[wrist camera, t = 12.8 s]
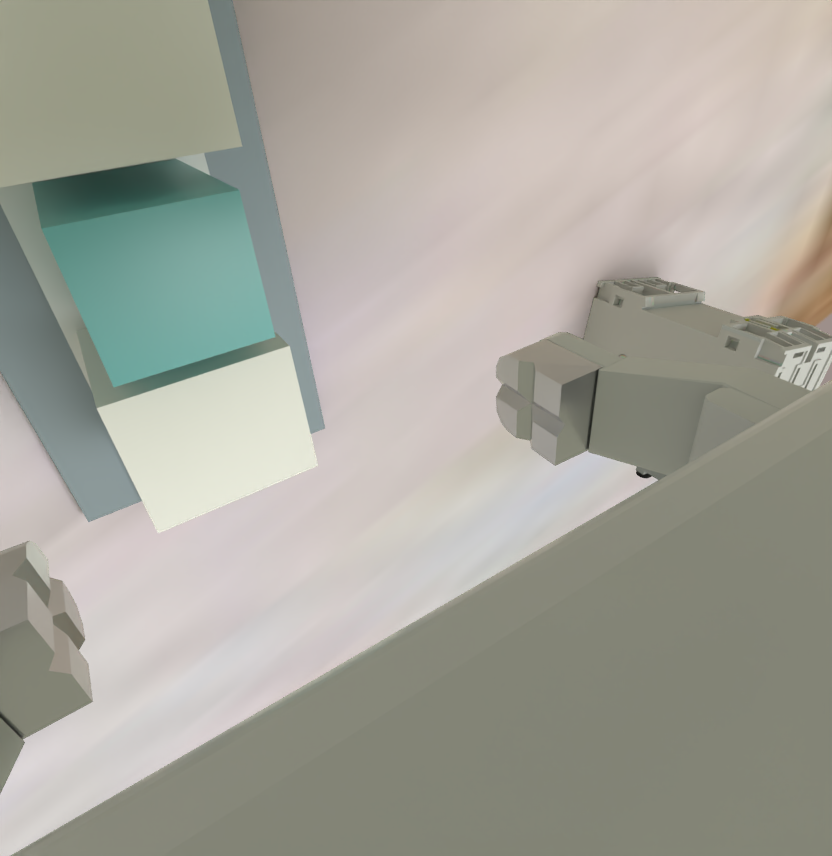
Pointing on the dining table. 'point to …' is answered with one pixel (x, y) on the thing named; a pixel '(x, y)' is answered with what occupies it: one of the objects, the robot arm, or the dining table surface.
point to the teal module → (156, 265)
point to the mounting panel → (50, 296)
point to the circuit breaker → (702, 333)
